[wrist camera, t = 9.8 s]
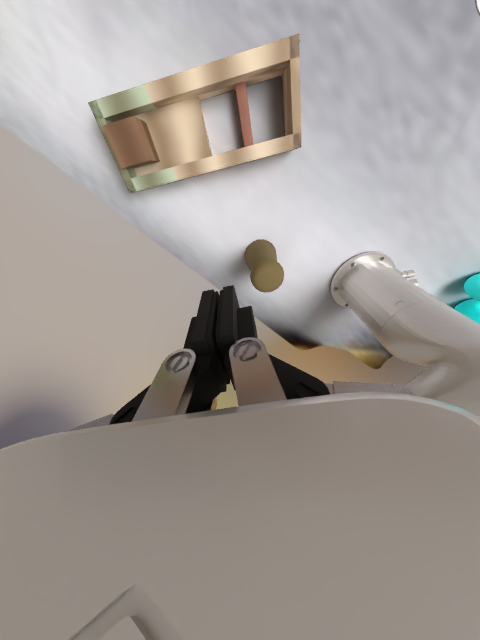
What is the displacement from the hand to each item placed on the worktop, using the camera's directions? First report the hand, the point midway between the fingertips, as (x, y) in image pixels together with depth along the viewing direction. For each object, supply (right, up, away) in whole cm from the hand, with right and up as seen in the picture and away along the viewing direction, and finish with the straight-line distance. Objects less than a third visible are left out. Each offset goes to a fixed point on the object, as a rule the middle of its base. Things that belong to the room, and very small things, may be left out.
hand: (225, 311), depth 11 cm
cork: (+5, +12, +28) cm, 31 cm away
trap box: (-4, +26, +17) cm, 31 cm away
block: (-13, +23, +16) cm, 31 cm away
